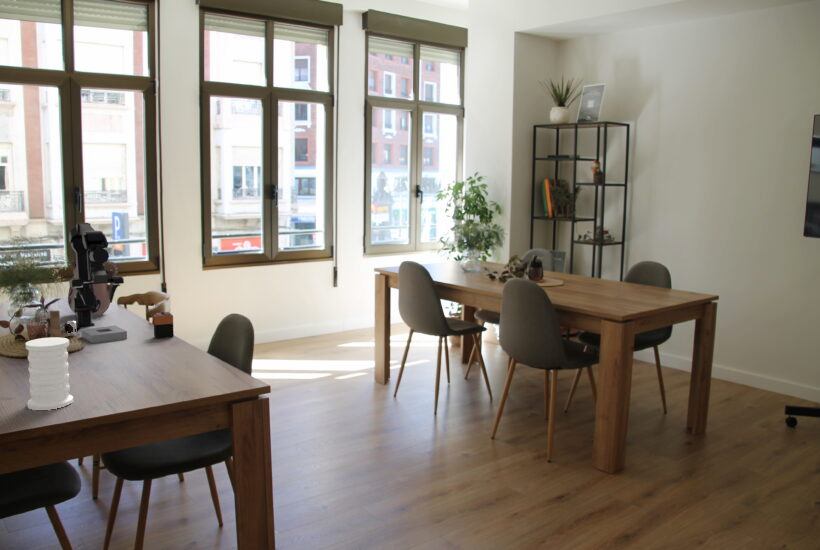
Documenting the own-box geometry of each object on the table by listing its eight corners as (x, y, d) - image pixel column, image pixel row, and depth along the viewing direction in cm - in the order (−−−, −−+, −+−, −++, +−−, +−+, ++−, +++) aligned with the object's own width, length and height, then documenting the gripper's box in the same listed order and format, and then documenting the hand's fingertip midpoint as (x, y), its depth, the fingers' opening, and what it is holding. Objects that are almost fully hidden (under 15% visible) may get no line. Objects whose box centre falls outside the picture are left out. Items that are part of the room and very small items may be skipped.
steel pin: (66, 336, 280) (66, 321, 279) (75, 335, 282) (74, 320, 281) (69, 337, 277) (68, 322, 276) (77, 336, 279) (77, 321, 278)
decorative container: (31, 413, 192) (27, 348, 189) (24, 401, 201) (20, 340, 198) (77, 406, 198) (74, 343, 196) (69, 395, 208) (66, 335, 205)
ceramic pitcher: (72, 312, 325) (69, 258, 322) (121, 310, 331) (119, 257, 328) (65, 320, 309) (63, 263, 305) (117, 318, 315) (115, 262, 311)
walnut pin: (50, 345, 265) (48, 311, 263) (59, 344, 267) (58, 310, 265) (52, 346, 262) (51, 312, 261) (62, 345, 264) (60, 311, 263)
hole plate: (81, 337, 278) (81, 329, 278) (115, 332, 287) (115, 325, 287) (92, 343, 269) (92, 335, 268) (127, 338, 277) (126, 331, 277)
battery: (173, 337, 281) (173, 312, 280) (156, 339, 278) (155, 314, 276) (171, 335, 285) (170, 310, 284) (153, 336, 282) (153, 312, 280)
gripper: (73, 265, 262) (76, 306, 263) (125, 262, 273) (128, 302, 274) (67, 265, 271) (70, 305, 272) (118, 262, 282) (121, 301, 283)
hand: (98, 303), depth 275 cm, fingers open, 9 cm apart
